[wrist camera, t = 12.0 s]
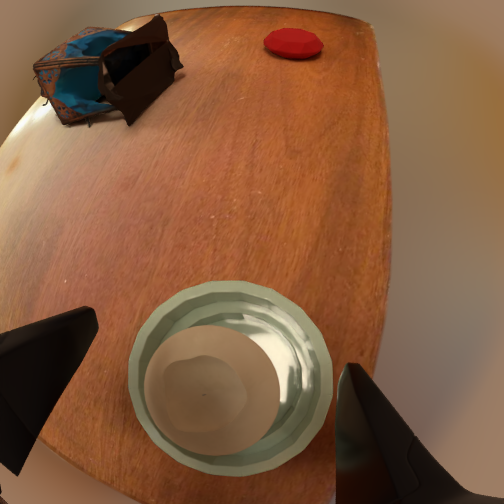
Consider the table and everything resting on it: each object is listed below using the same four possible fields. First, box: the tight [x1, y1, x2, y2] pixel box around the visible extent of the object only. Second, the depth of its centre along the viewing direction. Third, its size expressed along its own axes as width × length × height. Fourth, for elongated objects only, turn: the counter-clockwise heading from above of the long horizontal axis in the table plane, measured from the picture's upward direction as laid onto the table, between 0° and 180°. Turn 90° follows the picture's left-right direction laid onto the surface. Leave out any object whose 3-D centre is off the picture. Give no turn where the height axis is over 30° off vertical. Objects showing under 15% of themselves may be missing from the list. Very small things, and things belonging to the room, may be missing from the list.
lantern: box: [33, 14, 184, 127], centre depth 27 cm, size 16×16×25 cm
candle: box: [144, 325, 280, 456], centre depth 13 cm, size 6×6×10 cm
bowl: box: [128, 280, 333, 477], centre depth 16 cm, size 11×11×5 cm
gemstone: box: [264, 28, 324, 59], centre depth 33 cm, size 9×9×3 cm
